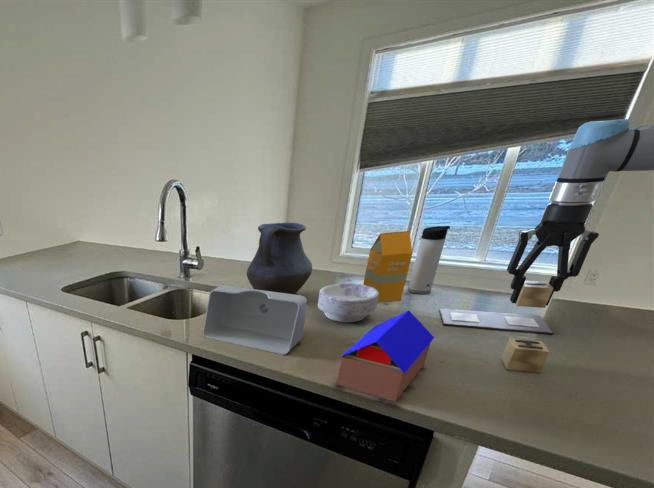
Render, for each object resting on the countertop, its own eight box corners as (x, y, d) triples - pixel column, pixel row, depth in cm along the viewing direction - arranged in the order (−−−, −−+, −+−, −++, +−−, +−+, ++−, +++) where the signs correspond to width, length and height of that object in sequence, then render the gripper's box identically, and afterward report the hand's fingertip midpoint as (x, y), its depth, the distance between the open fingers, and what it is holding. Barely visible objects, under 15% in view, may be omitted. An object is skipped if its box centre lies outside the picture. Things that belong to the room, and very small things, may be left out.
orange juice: (401, 300, 125) (417, 233, 115) (372, 302, 125) (386, 235, 115) (388, 292, 132) (402, 228, 121) (360, 294, 132) (373, 231, 122)
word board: (538, 317, 106) (540, 315, 106) (552, 335, 97) (553, 332, 97) (439, 310, 116) (439, 307, 115) (443, 325, 107) (443, 323, 106)
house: (334, 384, 86) (343, 334, 80) (369, 351, 98) (379, 305, 92) (396, 403, 79) (411, 349, 73) (426, 364, 90) (441, 315, 84)
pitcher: (318, 294, 136) (329, 215, 123) (291, 314, 122) (301, 228, 110) (261, 286, 148) (266, 214, 136) (231, 304, 134) (234, 225, 122)
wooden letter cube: (532, 361, 88) (542, 340, 85) (539, 373, 83) (549, 351, 81) (500, 358, 90) (509, 337, 87) (506, 369, 86) (515, 347, 83)
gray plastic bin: (311, 333, 110) (317, 288, 103) (288, 355, 99) (293, 307, 93) (229, 318, 124) (230, 278, 118) (201, 336, 114) (201, 293, 108)
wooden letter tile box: (538, 300, 102) (547, 280, 99) (545, 308, 98) (554, 287, 95) (511, 299, 104) (519, 279, 102) (516, 306, 100) (524, 285, 98)
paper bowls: (309, 321, 116) (312, 295, 112) (324, 305, 127) (328, 280, 123) (366, 330, 108) (372, 302, 104) (378, 312, 118) (384, 286, 114)
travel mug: (432, 294, 127) (452, 228, 116) (408, 293, 129) (425, 228, 119) (430, 288, 131) (448, 224, 121) (406, 287, 134) (422, 224, 124)
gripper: (521, 205, 91) (485, 304, 102) (636, 204, 83) (583, 311, 94) (513, 201, 96) (480, 295, 108) (620, 199, 88) (572, 300, 100)
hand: (528, 302), depth 101 cm, fingers closed on wooden letter tile box, 5 cm apart
